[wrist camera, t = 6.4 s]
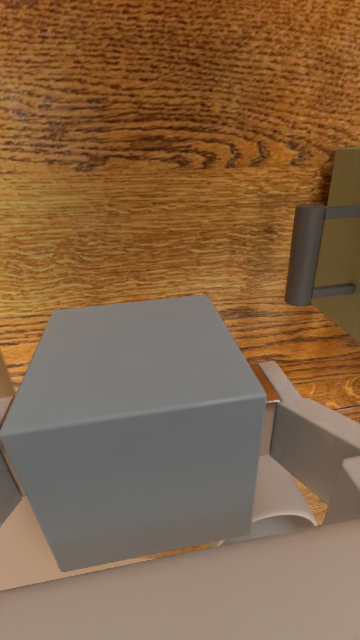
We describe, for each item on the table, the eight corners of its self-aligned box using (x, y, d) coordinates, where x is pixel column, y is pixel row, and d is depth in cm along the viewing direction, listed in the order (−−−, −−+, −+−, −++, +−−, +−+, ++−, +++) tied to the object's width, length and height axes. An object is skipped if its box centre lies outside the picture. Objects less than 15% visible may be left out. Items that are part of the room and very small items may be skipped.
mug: (175, 417, 31) (200, 535, 21) (258, 391, 31) (318, 497, 21) (201, 487, 37) (229, 604, 27) (270, 465, 37) (322, 574, 27)
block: (52, 309, 9) (-5, 434, 5) (208, 293, 9) (269, 394, 5) (82, 424, 11) (60, 574, 7) (207, 405, 12) (251, 535, 8)
